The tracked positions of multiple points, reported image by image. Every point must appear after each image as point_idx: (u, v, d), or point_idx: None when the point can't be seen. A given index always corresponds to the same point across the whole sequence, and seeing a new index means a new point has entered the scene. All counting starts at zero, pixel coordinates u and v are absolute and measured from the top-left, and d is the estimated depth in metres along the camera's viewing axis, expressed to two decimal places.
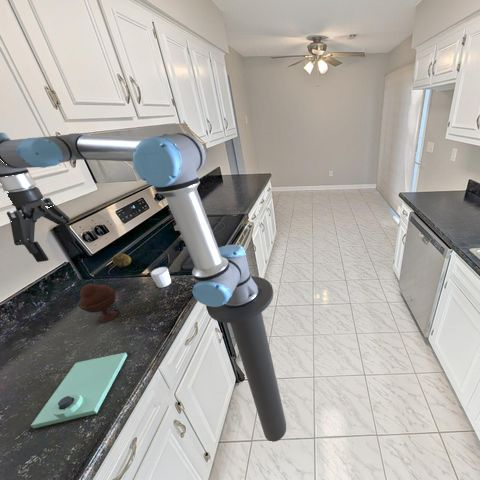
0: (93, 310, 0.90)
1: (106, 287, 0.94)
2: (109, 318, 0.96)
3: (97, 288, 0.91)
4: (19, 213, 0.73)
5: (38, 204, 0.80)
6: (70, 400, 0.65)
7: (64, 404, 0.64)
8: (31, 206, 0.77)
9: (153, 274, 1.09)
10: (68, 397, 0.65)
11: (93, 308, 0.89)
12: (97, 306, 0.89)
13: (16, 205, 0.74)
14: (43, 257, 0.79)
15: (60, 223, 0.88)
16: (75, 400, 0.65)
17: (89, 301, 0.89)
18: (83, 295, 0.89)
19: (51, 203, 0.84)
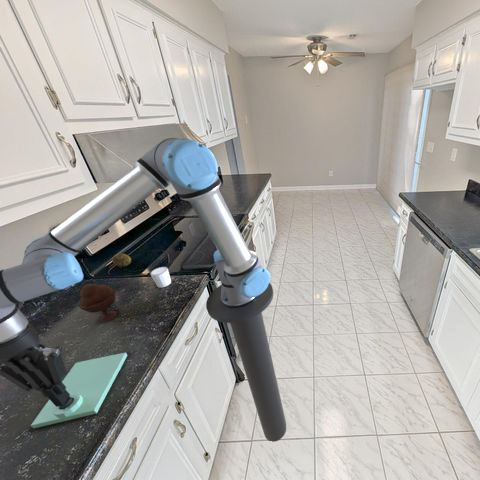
0: (93, 310, 0.90)
1: (106, 287, 0.94)
2: (109, 318, 0.96)
3: (97, 288, 0.91)
4: None
5: None
6: (70, 400, 0.65)
7: (65, 404, 0.64)
8: None
9: (153, 274, 1.09)
10: (68, 397, 0.65)
11: (93, 308, 0.89)
12: (97, 306, 0.89)
13: (34, 344, 0.56)
14: (66, 393, 0.65)
15: (42, 383, 0.61)
16: (75, 400, 0.65)
17: (89, 301, 0.89)
18: (83, 295, 0.89)
19: None
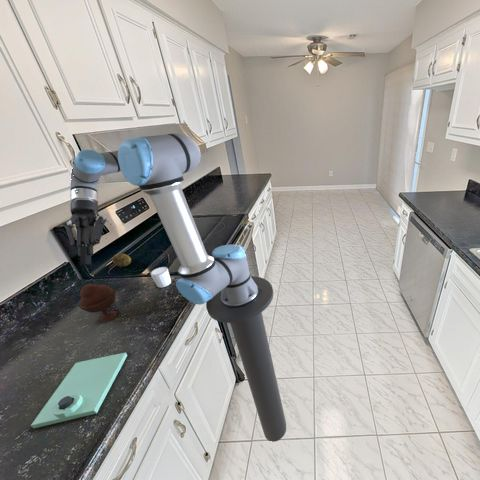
0: (93, 310, 0.90)
1: (106, 287, 0.94)
2: (109, 318, 0.96)
3: (97, 288, 0.91)
4: None
5: None
6: (70, 400, 0.65)
7: (64, 404, 0.64)
8: None
9: (153, 274, 1.09)
10: (68, 397, 0.65)
11: (93, 308, 0.89)
12: (97, 306, 0.89)
13: (95, 210, 0.93)
14: (90, 261, 0.89)
15: (82, 244, 0.89)
16: (75, 400, 0.65)
17: (89, 301, 0.89)
18: (83, 295, 0.89)
19: None
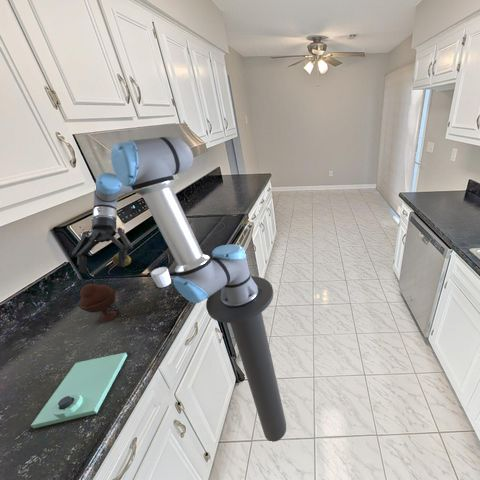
0: (93, 310, 0.90)
1: (106, 287, 0.94)
2: (109, 318, 0.96)
3: (97, 288, 0.91)
4: None
5: None
6: (70, 400, 0.65)
7: (64, 404, 0.64)
8: None
9: (153, 274, 1.09)
10: (68, 397, 0.65)
11: (93, 308, 0.89)
12: (97, 306, 0.89)
13: (113, 226, 1.03)
14: (124, 264, 1.00)
15: (82, 255, 0.98)
16: (75, 400, 0.65)
17: (89, 301, 0.89)
18: (83, 295, 0.89)
19: None
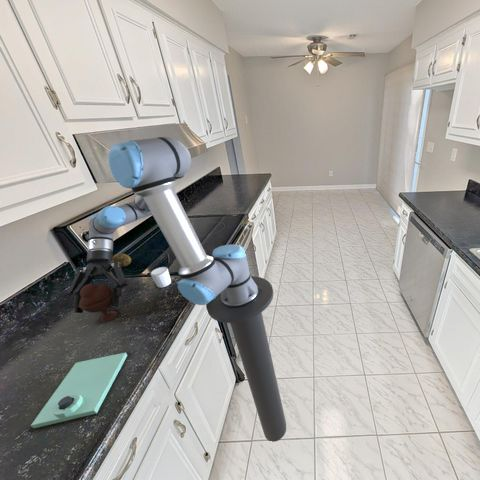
0: (93, 310, 0.90)
1: (106, 287, 0.94)
2: (109, 318, 0.96)
3: (97, 288, 0.91)
4: None
5: None
6: (70, 400, 0.65)
7: (64, 404, 0.64)
8: None
9: (153, 274, 1.09)
10: (68, 397, 0.65)
11: (93, 308, 0.89)
12: (97, 306, 0.89)
13: (110, 259, 0.98)
14: (118, 302, 0.94)
15: (78, 293, 0.93)
16: (75, 400, 0.65)
17: (89, 301, 0.89)
18: (83, 295, 0.89)
19: None
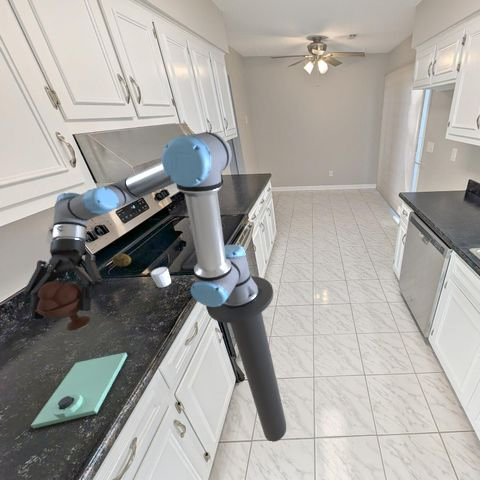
0: (55, 316, 0.69)
1: (74, 286, 0.73)
2: (79, 326, 0.75)
3: (61, 287, 0.71)
4: None
5: None
6: (70, 400, 0.65)
7: (64, 404, 0.64)
8: None
9: (153, 274, 1.09)
10: (68, 397, 0.65)
11: (55, 313, 0.68)
12: (60, 311, 0.68)
13: (80, 251, 0.77)
14: (89, 305, 0.73)
15: None
16: (75, 400, 0.65)
17: (49, 304, 0.68)
18: (42, 296, 0.68)
19: None
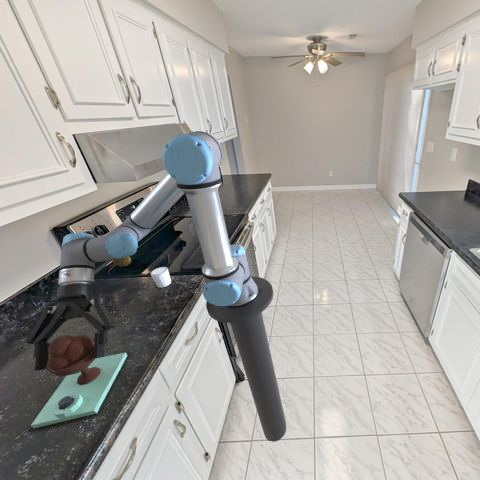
0: (66, 374, 0.66)
1: (85, 339, 0.69)
2: (89, 379, 0.72)
3: (72, 342, 0.67)
4: None
5: None
6: (70, 400, 0.65)
7: (64, 404, 0.64)
8: None
9: (153, 274, 1.09)
10: (68, 397, 0.65)
11: (66, 372, 0.65)
12: (71, 369, 0.65)
13: (89, 295, 0.73)
14: (102, 351, 0.70)
15: (41, 342, 0.68)
16: (75, 400, 0.65)
17: (60, 362, 0.65)
18: (52, 354, 0.65)
19: None
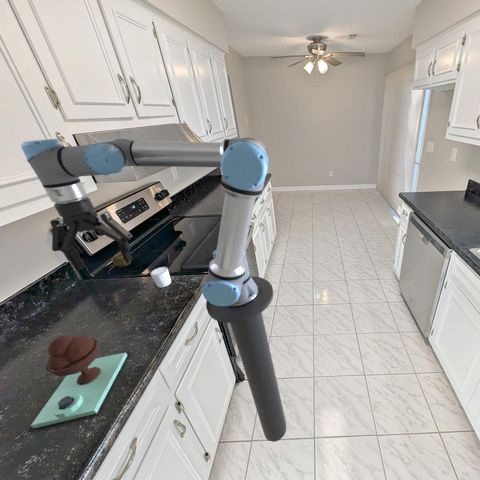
0: (66, 374, 0.66)
1: (85, 339, 0.69)
2: (89, 379, 0.72)
3: (72, 342, 0.67)
4: None
5: None
6: (70, 400, 0.65)
7: (64, 404, 0.64)
8: None
9: (153, 274, 1.09)
10: (68, 397, 0.65)
11: (66, 372, 0.65)
12: (71, 369, 0.65)
13: (92, 211, 0.72)
14: (130, 255, 0.81)
15: (67, 248, 0.75)
16: (75, 400, 0.65)
17: (60, 362, 0.65)
18: (52, 354, 0.65)
19: None
